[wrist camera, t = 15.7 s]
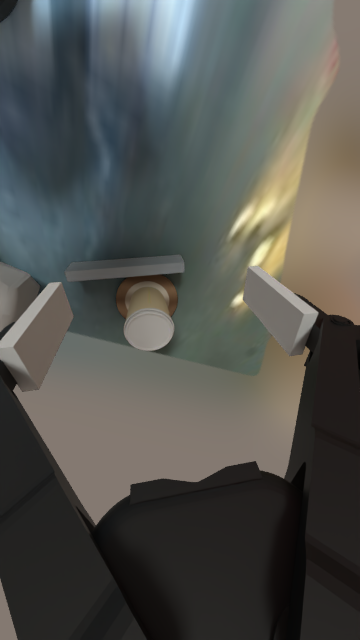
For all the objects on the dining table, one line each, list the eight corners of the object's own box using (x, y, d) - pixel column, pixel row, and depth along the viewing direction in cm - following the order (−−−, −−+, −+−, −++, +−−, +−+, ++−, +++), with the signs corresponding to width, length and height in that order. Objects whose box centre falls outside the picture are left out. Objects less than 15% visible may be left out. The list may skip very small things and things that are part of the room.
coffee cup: (154, 324, 53) (157, 358, 43) (119, 307, 49) (114, 340, 39) (175, 295, 50) (184, 325, 40) (140, 275, 46) (140, 302, 36)
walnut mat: (110, 273, 45) (109, 275, 45) (176, 268, 47) (176, 270, 46) (122, 327, 53) (121, 329, 52) (178, 321, 55) (178, 323, 54)
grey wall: (71, 262, 43) (64, 271, 39) (180, 254, 45) (184, 262, 41) (74, 272, 44) (67, 281, 40) (180, 263, 47) (184, 272, 42)
